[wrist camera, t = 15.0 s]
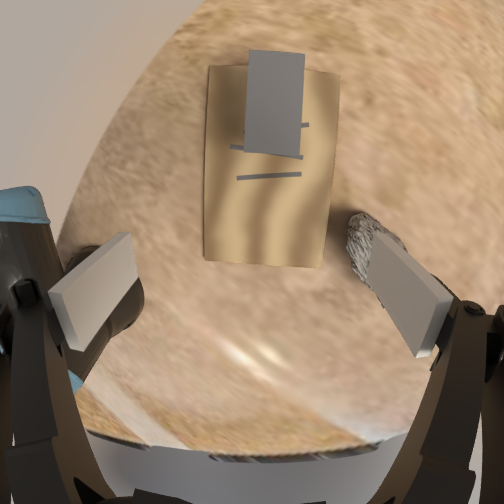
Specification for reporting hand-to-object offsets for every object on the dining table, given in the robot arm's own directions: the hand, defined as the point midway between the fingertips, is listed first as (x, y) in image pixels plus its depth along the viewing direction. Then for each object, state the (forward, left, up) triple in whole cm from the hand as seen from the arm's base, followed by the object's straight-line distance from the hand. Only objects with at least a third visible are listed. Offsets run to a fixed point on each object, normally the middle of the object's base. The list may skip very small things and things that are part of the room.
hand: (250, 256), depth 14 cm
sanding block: (+1, +10, -21) cm, 23 cm away
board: (+1, +3, -22) cm, 23 cm away
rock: (+17, -7, -23) cm, 29 cm away
